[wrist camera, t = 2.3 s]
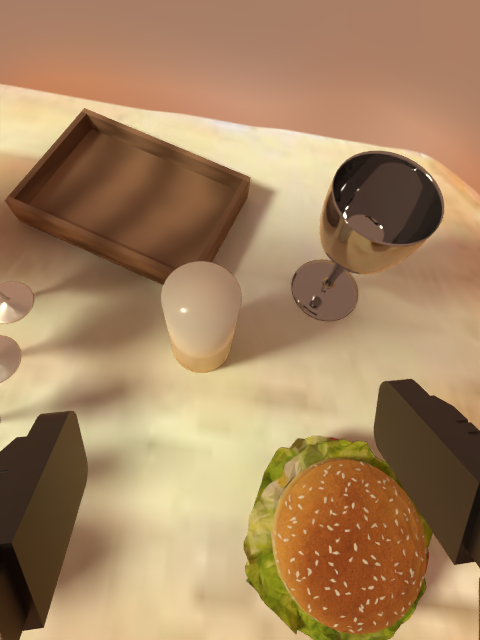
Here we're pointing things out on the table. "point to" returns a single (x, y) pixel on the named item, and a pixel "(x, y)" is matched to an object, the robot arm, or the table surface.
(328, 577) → the food
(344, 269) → the wine glass
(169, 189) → the serving tray
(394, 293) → the table surface
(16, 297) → the goblet set
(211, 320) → the dome-topped cylinder
